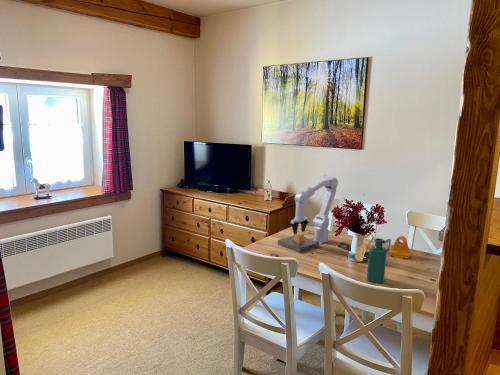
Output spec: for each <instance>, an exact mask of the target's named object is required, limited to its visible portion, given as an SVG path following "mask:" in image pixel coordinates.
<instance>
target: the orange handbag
mask: <svg viewBox="0 0 500 375" xmlns="http://www.w3.org/2000/svg"><path fill="white" fill-rule="evenodd" d="M400 240H401V241H402V242H401V241H400ZM388 251H389V255H390V256H392V257H393V258H396V257H397V258H396V259H401V258H403V259H409V257H410V255H411V251H410V248H409V244H408V240H407V238H406V236H404V235H399V236H397V238H396V240H395V241H394V243H393V245H392V247H391V249H389V250H388Z"/></svg>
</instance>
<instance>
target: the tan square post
mask: <svg viewBox="0 0 500 375" xmlns="http://www.w3.org/2000/svg"><path fill="white" fill-rule="evenodd" d="M293 234H294V233H293ZM293 236H294V242H297V243H302V242H304V237H305V234H304V233H303V232H298V231H297V234H294V235H293Z"/></svg>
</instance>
